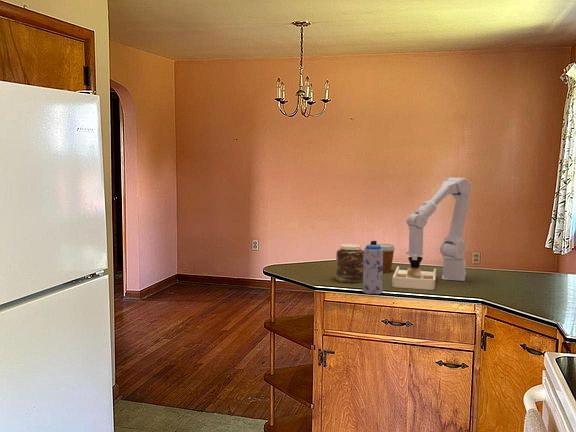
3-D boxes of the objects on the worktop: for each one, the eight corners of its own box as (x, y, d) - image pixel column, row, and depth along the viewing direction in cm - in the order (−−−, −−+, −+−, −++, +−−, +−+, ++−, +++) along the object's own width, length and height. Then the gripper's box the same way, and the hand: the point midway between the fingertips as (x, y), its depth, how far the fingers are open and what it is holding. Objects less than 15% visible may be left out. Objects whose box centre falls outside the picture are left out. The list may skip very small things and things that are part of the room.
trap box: (435, 277, 234) (435, 268, 233) (434, 290, 211) (435, 280, 211) (397, 275, 239) (397, 266, 238) (392, 287, 216) (392, 277, 215)
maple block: (420, 277, 222) (420, 268, 222) (419, 280, 217) (420, 270, 217) (408, 276, 223) (408, 267, 223) (407, 279, 219) (407, 269, 218)
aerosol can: (377, 294, 203) (379, 243, 201) (359, 292, 207) (360, 241, 205) (385, 290, 209) (387, 240, 207) (367, 288, 213) (368, 238, 211)
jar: (355, 276, 236) (355, 242, 235) (368, 281, 225) (369, 246, 224) (331, 278, 232) (331, 244, 230) (344, 283, 221) (344, 248, 219)
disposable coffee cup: (389, 273, 241) (389, 247, 240) (370, 271, 247) (370, 245, 246) (397, 270, 249) (398, 245, 248) (379, 267, 255) (379, 243, 253)
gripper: (407, 239, 231) (406, 270, 232) (404, 244, 217) (403, 276, 218) (424, 240, 229) (423, 271, 230) (422, 245, 215) (421, 278, 216)
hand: (414, 274), depth 224 cm, fingers closed
